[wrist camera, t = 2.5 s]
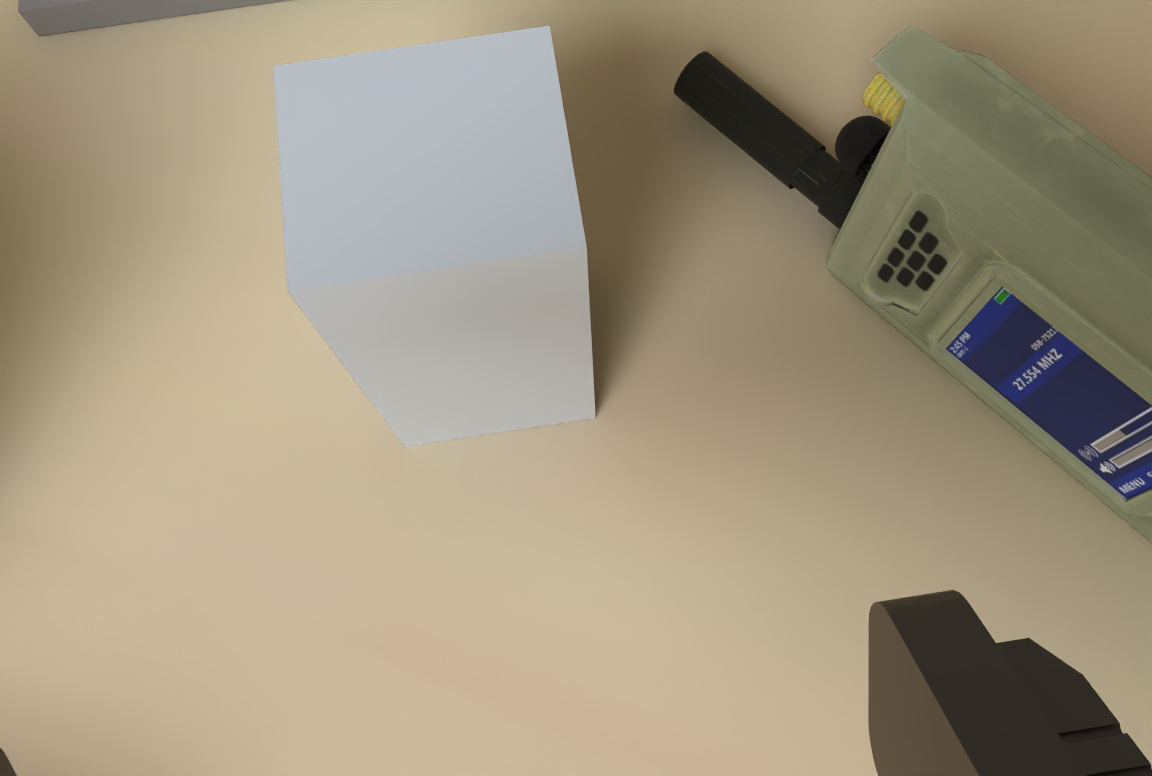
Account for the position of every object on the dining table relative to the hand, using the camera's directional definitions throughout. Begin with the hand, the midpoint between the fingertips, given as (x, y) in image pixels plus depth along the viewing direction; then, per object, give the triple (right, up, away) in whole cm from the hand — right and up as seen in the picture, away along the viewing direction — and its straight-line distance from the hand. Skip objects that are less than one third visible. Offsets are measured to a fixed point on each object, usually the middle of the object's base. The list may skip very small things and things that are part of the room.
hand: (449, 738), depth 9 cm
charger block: (-1, +4, +15) cm, 15 cm away
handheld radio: (+13, +2, +14) cm, 19 cm away
